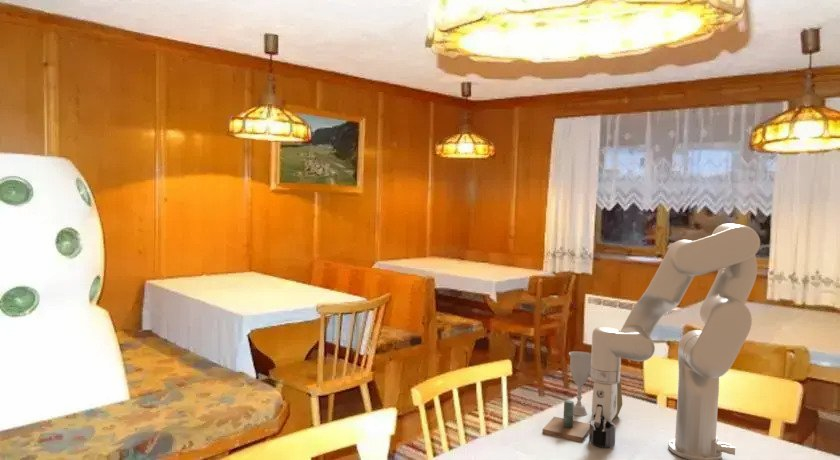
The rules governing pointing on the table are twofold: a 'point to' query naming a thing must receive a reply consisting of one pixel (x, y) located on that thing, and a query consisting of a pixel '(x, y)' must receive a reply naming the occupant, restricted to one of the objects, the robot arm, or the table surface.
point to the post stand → (567, 425)
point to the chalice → (580, 376)
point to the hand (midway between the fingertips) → (602, 440)
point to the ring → (610, 433)
